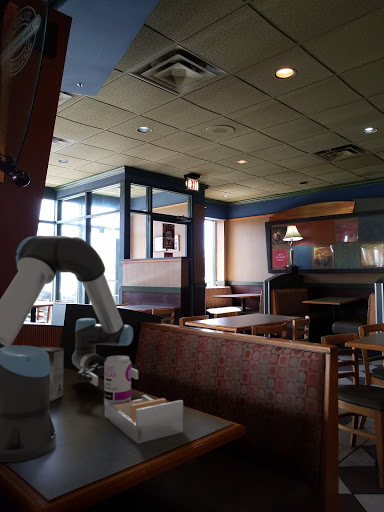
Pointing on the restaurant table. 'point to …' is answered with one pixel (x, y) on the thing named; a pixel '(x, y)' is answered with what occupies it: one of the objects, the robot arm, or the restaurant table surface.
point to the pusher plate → (144, 404)
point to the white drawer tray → (147, 419)
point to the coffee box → (55, 371)
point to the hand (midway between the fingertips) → (117, 378)
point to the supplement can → (117, 379)
